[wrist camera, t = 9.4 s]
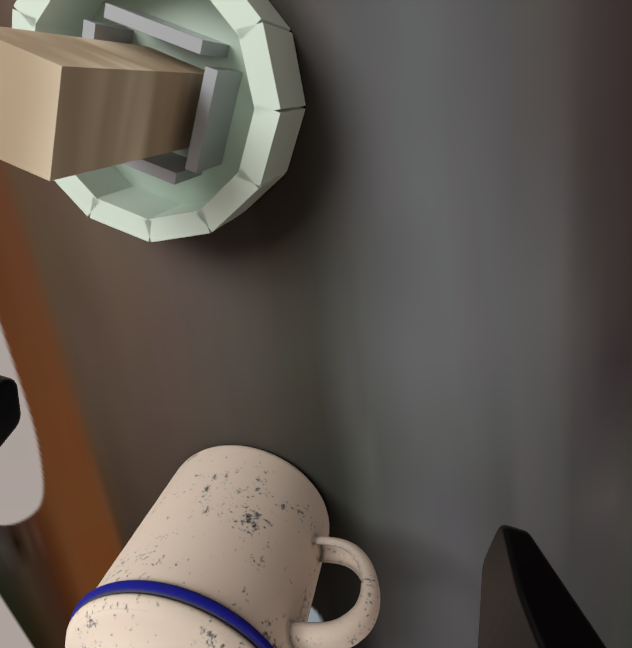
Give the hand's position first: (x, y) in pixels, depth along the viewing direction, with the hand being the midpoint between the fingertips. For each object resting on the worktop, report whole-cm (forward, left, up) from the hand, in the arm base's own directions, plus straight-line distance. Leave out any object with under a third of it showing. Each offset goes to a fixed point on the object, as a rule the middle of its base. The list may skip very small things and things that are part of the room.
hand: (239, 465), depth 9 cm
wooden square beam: (+8, -3, -12) cm, 14 cm away
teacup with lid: (-1, +14, -13) cm, 19 cm away
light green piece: (+8, -3, -13) cm, 15 cm away
